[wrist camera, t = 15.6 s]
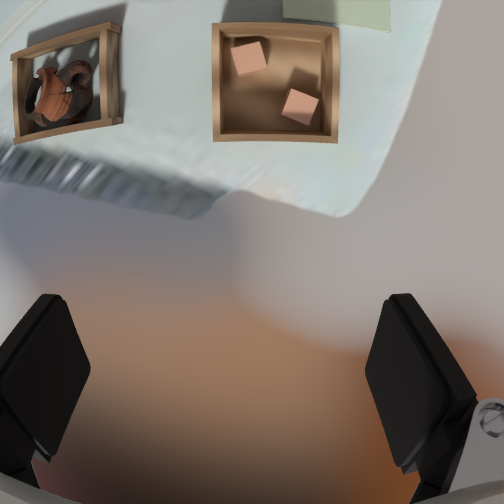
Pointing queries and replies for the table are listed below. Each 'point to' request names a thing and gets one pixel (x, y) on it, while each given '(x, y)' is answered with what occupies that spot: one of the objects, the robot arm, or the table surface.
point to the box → (275, 82)
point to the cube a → (249, 59)
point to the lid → (341, 12)
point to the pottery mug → (59, 94)
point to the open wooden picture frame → (106, 74)
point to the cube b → (298, 106)
